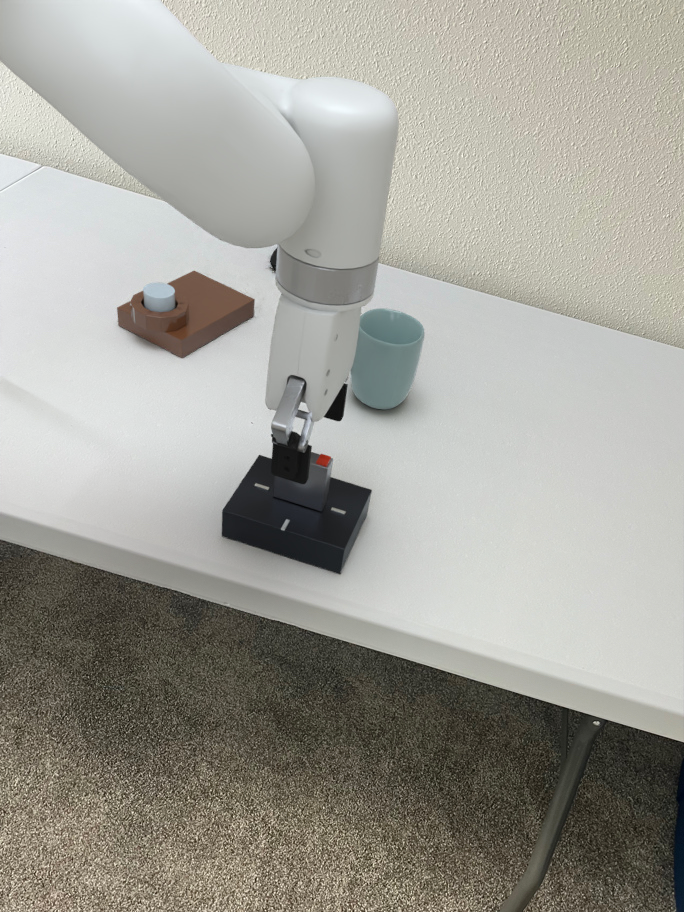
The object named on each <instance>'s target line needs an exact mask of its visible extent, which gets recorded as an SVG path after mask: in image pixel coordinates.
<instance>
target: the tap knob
mask: <svg viewBox="0 0 684 912" xmlns="http://www.w3.org/2000/svg"><path fill="white" fill-rule="evenodd" d="M333 463H334V458H333V457H332V456H330V455H327V454H325V453H317V452H313V451H311V459H310V468H309V478H308V480H307V482H306V484H300V483H297V482H293V481H290V480H287V479H284V478H280V477H277V476H274V486H273V497H276V498H280V499H283V500H286V501H289V502H292V503H296V504H299V505H302V506H305V507H308V508H311V509H315V510H318V511H321V512H322V510H323V508H324V506H325V505H326V503H327V498H328V491H329V484H330V478H331V477H332V470H333Z"/></svg>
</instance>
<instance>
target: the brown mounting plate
mask: <svg viewBox="0 0 684 912" xmlns="http://www.w3.org/2000/svg"><path fill="white" fill-rule="evenodd" d="M166 284H168V285H170V286H172V287H173V288H174V289H175V309H173V310H171V311H167V312H155V311H151V310H149V309H147V308H145V306H144V297H143V290H141V291H138V292H136V293H135V294H133V295H132V297H131V299H130V301H128V302H125V303H123V304H121V305H119V306H117V307H116V312H117V324H118V326H119V327H120V328H123V329H124V330H126V331H128V332H130V333H133V334H134V335H136V336H138V337H140V338H142V339H144V340H145V341H148V342H150V343H151V344H153V345H156V346H157V347H159V348H161V349H164V351H167V352H169V353H171V354H173V355H175V356H177V357H179V358H180V359H183V358H185V357H187V356H188V355H190V354H192V353H193V352H195V351H197V350H198V349H200V348H202V347H204V346H205V345H207V344H209V343H211V342H212V341H214V340H216V339H217V338H219V337H221V336H223V335H224V334H226V333H228V332H230V331H232V330H233V329H235V328H236V327H238V326H240V325H241V324H243V323H245V322H247V321H248V320H251V318H253V317H255V302H256V300H255V298H253V297H251V296H249V295H247V294H245V293H243V292H241V291H238V290H236V289H234V288H232V287H230V286H228V285H226V284H224V283H221V282H219V281H218V280H215V279H213V278H211V277H209V276H207V275H205V274H202V273H201V272H199V271H197V270H192V271H190V272H188V273H185V274H184V275H182V276H180V277H177V278H175V279H173V280H171V281H169V282H167V283H166Z"/></svg>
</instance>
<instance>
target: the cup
mask: <svg viewBox="0 0 684 912" xmlns="http://www.w3.org/2000/svg"><path fill="white" fill-rule="evenodd" d="M425 336H426V335H425V328H424V326H423V324H422V323H421V322H420V321H419V320H418V319H417V318H415V317H414V316H412V315H409V314H407V313H405V312H403V311H399V310H395V309H391V308H381V307H380V308H372V309H370V310H367V311H365V312H363V313H361V317H360V326H359V333H358V341H357V347H356V353H355V358H354V362H353V365H352V368H351V371H350V373H349V376H350V377H349V378H350V385H351V389H352V392H353V394H354V396H355V397H356V399H357V400H358V401H359V402H361V403H362V404H364V405H365V406H368V407H370V408H372V409H376V410H391V409H394V408H397V406H400V404H402V402H404V401H405V399H406V398H407V396H408V395H409V393H410V392H411V389H412V387H413V384H414V381H415V378H416V375H417V371H418V368H419V364H420V359H421V356H422V350H423V346H424V341H425Z"/></svg>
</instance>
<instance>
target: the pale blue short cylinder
mask: <svg viewBox="0 0 684 912" xmlns="http://www.w3.org/2000/svg"><path fill="white" fill-rule="evenodd" d="M142 291H143V297H144V306H145V308H147V309H149V310H151V311H155V312H167V311H171V310H173V309H175V289H174V288H173V287H172V286H170V285H168V284H167V283H165V282H159V281H158V282H157V281H156V282H149V283H147V284H145V285H144V286H143V287H142Z"/></svg>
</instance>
